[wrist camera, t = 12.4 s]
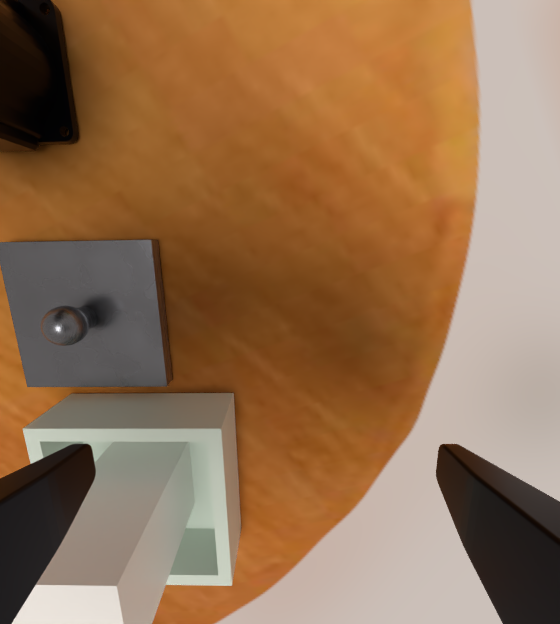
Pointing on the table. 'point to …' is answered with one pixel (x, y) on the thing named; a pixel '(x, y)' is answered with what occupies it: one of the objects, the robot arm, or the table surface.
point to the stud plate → (88, 312)
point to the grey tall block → (119, 540)
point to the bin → (165, 428)
